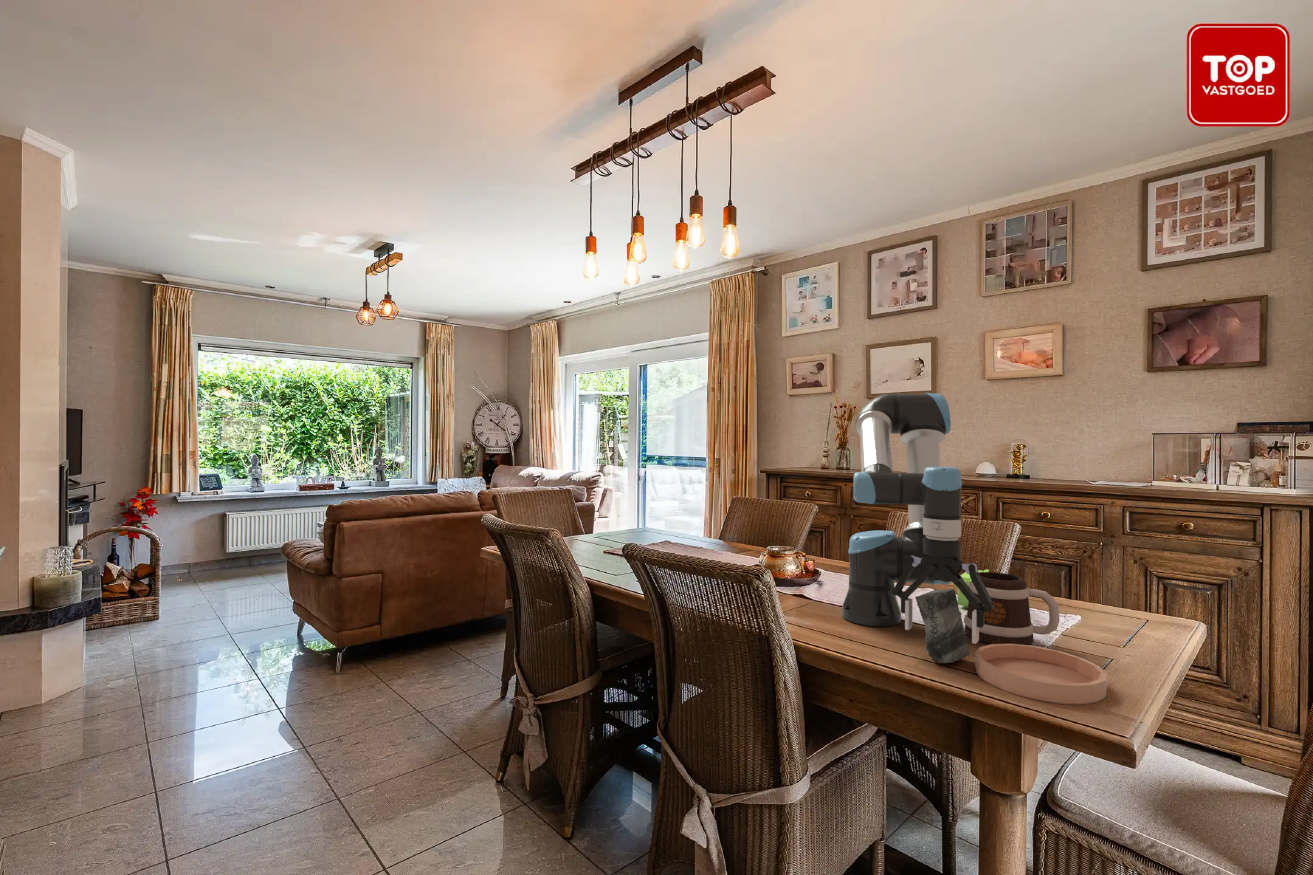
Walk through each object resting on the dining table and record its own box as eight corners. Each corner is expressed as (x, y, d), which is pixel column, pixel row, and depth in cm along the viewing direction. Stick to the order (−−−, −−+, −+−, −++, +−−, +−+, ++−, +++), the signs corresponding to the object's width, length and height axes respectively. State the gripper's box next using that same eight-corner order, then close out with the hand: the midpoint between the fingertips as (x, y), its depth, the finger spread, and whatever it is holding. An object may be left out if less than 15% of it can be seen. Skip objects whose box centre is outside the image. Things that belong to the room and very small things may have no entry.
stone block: (928, 664, 129) (952, 665, 125) (911, 596, 132) (934, 594, 128) (949, 655, 135) (972, 655, 131) (932, 589, 138) (954, 587, 134)
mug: (958, 640, 145) (959, 577, 145) (968, 624, 157) (968, 566, 157) (1058, 658, 133) (1058, 590, 133) (1060, 639, 146) (1060, 577, 146)
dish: (964, 682, 120) (964, 664, 120) (988, 652, 136) (988, 636, 136) (1102, 715, 105) (1102, 695, 105) (1110, 677, 122) (1110, 660, 122)
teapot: (970, 615, 165) (970, 576, 165) (940, 602, 178) (940, 566, 178) (1020, 613, 167) (1020, 575, 167) (987, 600, 181) (987, 565, 181)
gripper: (878, 533, 137) (877, 627, 137) (1003, 546, 121) (1002, 652, 121) (889, 529, 143) (888, 619, 143) (1010, 542, 127) (1009, 643, 127)
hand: (940, 635), depth 132 cm, fingers open, 13 cm apart
